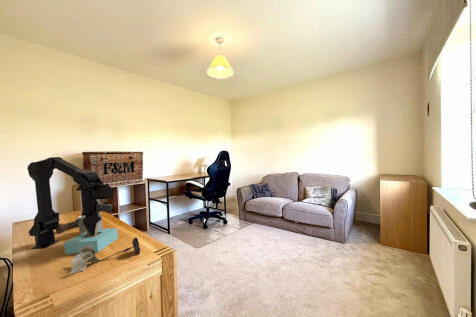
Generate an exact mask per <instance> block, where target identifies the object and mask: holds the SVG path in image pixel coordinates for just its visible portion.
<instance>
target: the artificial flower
mask: <svg viewBox="0 0 476 317" xmlns="http://www.w3.org/2000/svg"><path fill="white" fill-rule="evenodd" d="M80 249H81V250H79V251H81V253H80V252H79V254H75V257H73V258H72V260H71V263H70V264H71V266H72V268H71V269H70V274H72V275H73V274H77V273H80V272H82V271H85V270H86V269H87V268H86V267H87V266H88V263H92V264H96V263H100V262H102V261H105V260H107V259H110V258H111V257H113V256H116V255H119V254H120V253H126V252H128V251H130V250H131V249H133V251H134V253H137V254H140V253H141V247H140V241H139V239H138V237H136V236H135V237H134V238H132V246H130V247H128V248H126V249H123V250H120V251H118V252H116V253H113V254H111V255H109V256H107V257H105V258H103V259H99V258H97V256H96V252H94V249H93V246H91V245H89V246H84V247H81V248H80Z"/></svg>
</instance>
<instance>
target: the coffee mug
mask: <svg viewBox="0 0 476 317" xmlns="http://www.w3.org/2000/svg"><path fill="white" fill-rule="evenodd" d="M99 212H100V213H98V214H100V215H101V216H102V211H99ZM83 217H84V216H83ZM77 219H78V223H79V227H78V231H79V233H78V235H80V234H82V233H84V232H86V227H85V225H84V224H83V219H82V215H79V216H78V217H77ZM102 220H103V218H102V217H101V221H99V222H98V223H97V229H103V222H102Z"/></svg>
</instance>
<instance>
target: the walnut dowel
mask: <svg viewBox="0 0 476 317" xmlns="http://www.w3.org/2000/svg"><path fill="white" fill-rule="evenodd" d="M86 231H87V237H95V236H97V235H98V231H97V224H96V229H95V235H94V236H91V234H90V233H89V231H88V230H87V228H86Z"/></svg>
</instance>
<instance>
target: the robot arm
mask: <svg viewBox="0 0 476 317" xmlns="http://www.w3.org/2000/svg"><path fill="white" fill-rule="evenodd" d="M26 167H27V172H28V176H29V177H30V178H31V179H32V181H34V186H35V187H34V188H35V195H36V205H37V212H36V215H35V216H34V219H33V225H32V226H31V227H30V229H29V230H28V235H29V236H30V237H34V242H35V243H34V244H35V245H34V246H32V249H46V248H48V247H50V246H52V245H54V244H56V243H58V242H59V241H58V240H56V235H55V232H54V231H56V230H55V229H57V228H58V224H59V223H60V221H61V219H60V213H59V212H56V211H54V209H53V200H52V191H51V182H50V181H51V178H52V176H53V175H54V170H55V169H56V170H58V171H60V172H61V173H64V174H66V175H67V176H69V177H71V178H72V181H73V182H74V183H75V184H77V185H78V187H77V188H76V189H75V191H80V200H81V202H80V203H81V211H80V212H81V215H82V219H83V224H84V225H85V227H86V228H87V230H88V231H89V233H90V234H91V236H94V235H95V229H96V224H97V223H98V222H99V221H101V218H102V214H101V215H100V214H98V213H100V212H106V213H107V214H108V213H111V212H112V208H113V205H112V204H111V203H109V201H107V200H110V199H112V197H113V196H114V190H113V188H112V187H111V186H110V184H109V183H104V182H103V181H102V180H101V178H100V176H99V175H98V174H97V172H96V171H93V170H90V169H83V168H80V167H78V166H76V165H74V164H73V163H70V162H69V161H66V160H65V159H64V158H63V157H60V156H51V157H47V158H44V159H41V160H38V161H32V162H30V163H29V164H28V165H27V166H26ZM98 200H105V201H103V202H99V201H98ZM81 215H80V216H81ZM83 216H84V217H83Z"/></svg>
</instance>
